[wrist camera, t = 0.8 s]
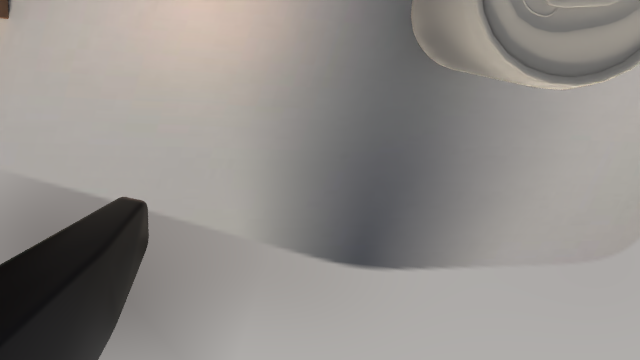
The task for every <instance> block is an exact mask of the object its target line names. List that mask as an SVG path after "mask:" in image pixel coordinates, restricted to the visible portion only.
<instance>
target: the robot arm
mask: <svg viewBox="0 0 640 360" xmlns="http://www.w3.org/2000/svg"><path fill="white" fill-rule="evenodd" d="M148 238H149V233H148V207H147V204H146V203H145V202H144V201H142V200H137V199H133V198H128V197H121V198H118V199H116V200H115V201H113V202H111V203H109V204H107V205H106V206H104V207H102V208H100V209H99V210H97V211H95V212H93V213H91V214H90V215H88V216H86V217H84V218H83V219H81V220H79V221H77V222H75V223H74V224H72V225H70V226H69V227H67V228H65V229H63V230H61V231H59V232H58V233H56V234H54V235H52V236H50V237H49V238H47V239H45V240H43V241H42V242H40V243H38V244H36V245H34V246H33V247H31V248H29V249H27V250H25V251H24V252H22V253H20V254H18V255H17V256H15V257H13V258H11V259H10V260H8V261H6V262H4V263H2V264H1V265H0V360H98V359H99V357H100V355H101V353H102V351H103V350H104V348H105V346H106V344H107V342H108V340H109V338H110V336H111V334H112V332H113V330H114V328H115V326H116V324H117V322H118V319H119V317H120V314H121V312H122V309H123V307H124V304H125V302H126V299H127V296H128V294H129V292H130V289H131V286H132V284H133V282H134V279H135V277H136V274H137V271H138V269H139V266H140V264H141V261H142V258H143V256H144V254H145V251H146V248H147V245H148Z"/></svg>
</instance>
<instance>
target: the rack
mask: <svg viewBox="0 0 640 360" xmlns="http://www.w3.org/2000/svg"><path fill="white" fill-rule="evenodd" d="M0 18H4V19H8V18H9V13H8V0H0Z"/></svg>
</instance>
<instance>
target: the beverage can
mask: <svg viewBox="0 0 640 360" xmlns="http://www.w3.org/2000/svg"><path fill="white" fill-rule="evenodd" d="M411 20H412V27H413V32H414V34H415V37H416V39H417V41H418V44H419V46H420V47H421V48H422V49H423V51H424V52H425V53H426V54H427V56H428V57H430V58H431V59H432V60H434V61H435V62H437V63H438V64H439V65H441V66H444V67H447V68H450V69H453V70H456V71H461V72H465V73H470V74H474V75H479V76H484V77H488V78H493V79H497V80H502V81H506V82H511V83H515V84H520V85H525V86H529V87H534V88H544V89H556V90H567V89H572V88H578V87H583V86H589V85H593V84H595V83H600V82H605V81H607V80H609V79H611V78H614V77H616V76H618V75H620V74H623V73H625V72H627V71H629V70H631V69H633V68H634V67H635V66H637V65H638V64H639V63H640V0H413V1H412V9H411Z"/></svg>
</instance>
